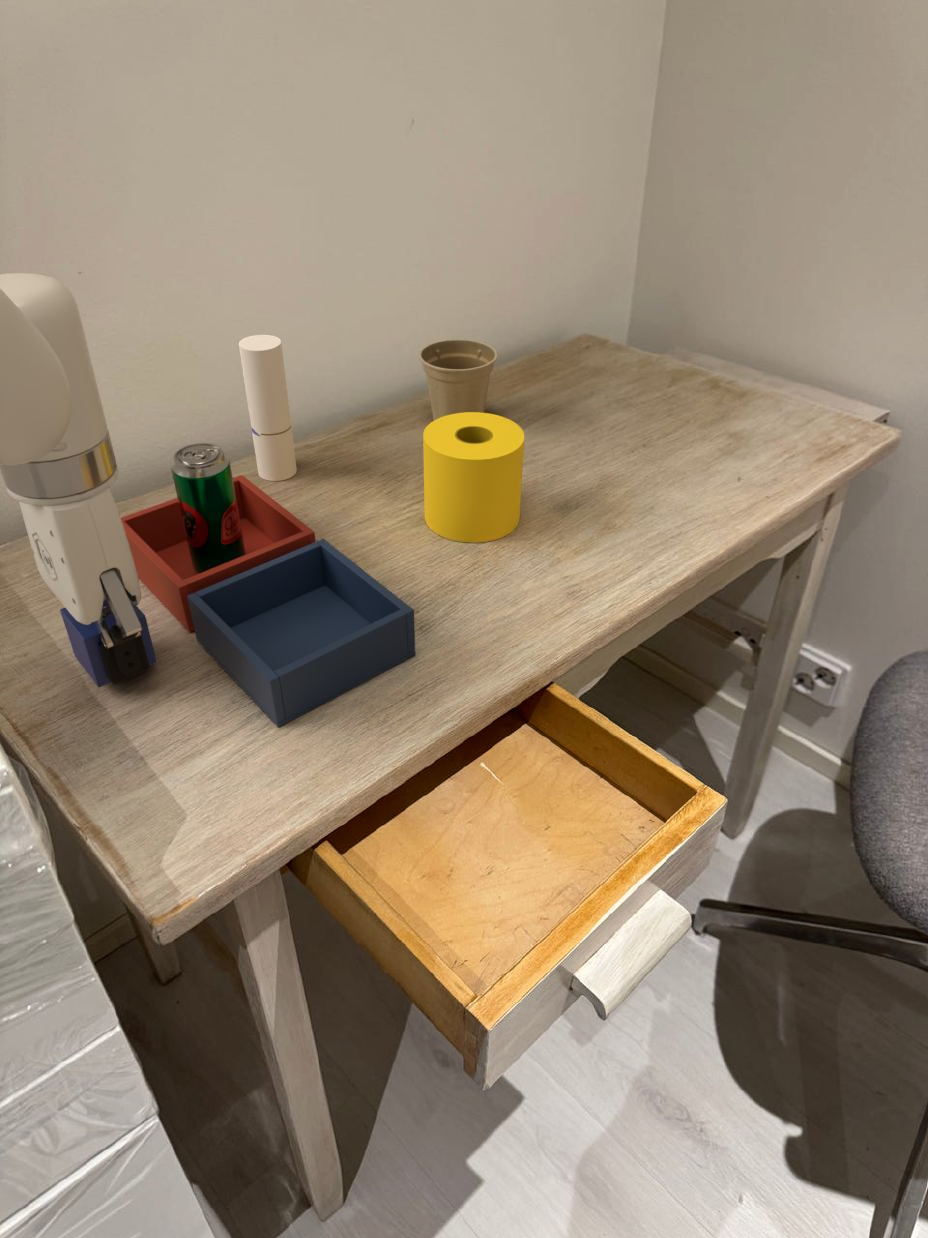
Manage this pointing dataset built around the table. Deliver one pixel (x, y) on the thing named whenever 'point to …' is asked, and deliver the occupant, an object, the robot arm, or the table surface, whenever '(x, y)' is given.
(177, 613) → the red bin
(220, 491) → the soda can
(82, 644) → the blue block
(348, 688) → the blue bin
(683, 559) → the table surface
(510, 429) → the tape roll
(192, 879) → the table surface
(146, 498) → the table surface
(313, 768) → the table surface
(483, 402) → the flower pot
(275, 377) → the tube
